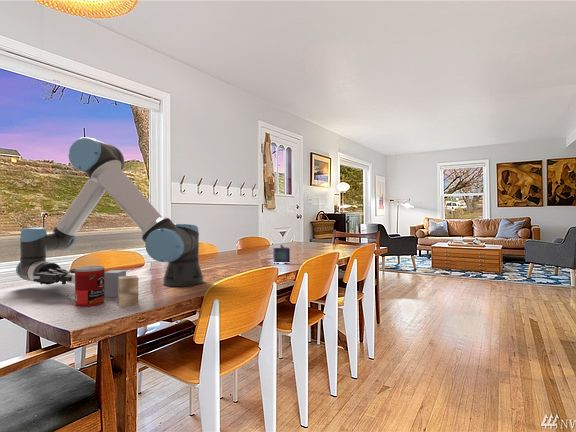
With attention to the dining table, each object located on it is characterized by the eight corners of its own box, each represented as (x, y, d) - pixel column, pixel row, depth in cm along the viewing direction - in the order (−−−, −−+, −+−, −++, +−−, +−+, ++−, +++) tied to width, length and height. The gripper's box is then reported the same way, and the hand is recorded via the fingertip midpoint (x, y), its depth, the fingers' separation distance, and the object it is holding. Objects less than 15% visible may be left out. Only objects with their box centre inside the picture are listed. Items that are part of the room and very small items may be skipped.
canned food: (91, 307, 99) (91, 269, 99) (68, 306, 101) (68, 269, 101) (110, 301, 106) (110, 266, 106) (88, 300, 108) (88, 265, 108)
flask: (272, 264, 189) (272, 244, 189) (273, 263, 192) (273, 244, 192) (289, 264, 188) (289, 244, 188) (290, 263, 191) (290, 244, 191)
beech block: (135, 300, 107) (135, 275, 107) (138, 304, 103) (138, 277, 103) (118, 302, 105) (118, 276, 105) (120, 306, 100) (120, 279, 100)
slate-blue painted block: (126, 293, 117) (126, 270, 117) (118, 297, 112) (118, 272, 112) (111, 293, 117) (111, 270, 117) (103, 296, 112) (103, 272, 112)
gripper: (65, 280, 125) (100, 287, 112) (23, 286, 114) (56, 295, 102) (65, 260, 125) (100, 265, 112) (23, 264, 114) (56, 270, 102)
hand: (79, 279), depth 107 cm, fingers closed
